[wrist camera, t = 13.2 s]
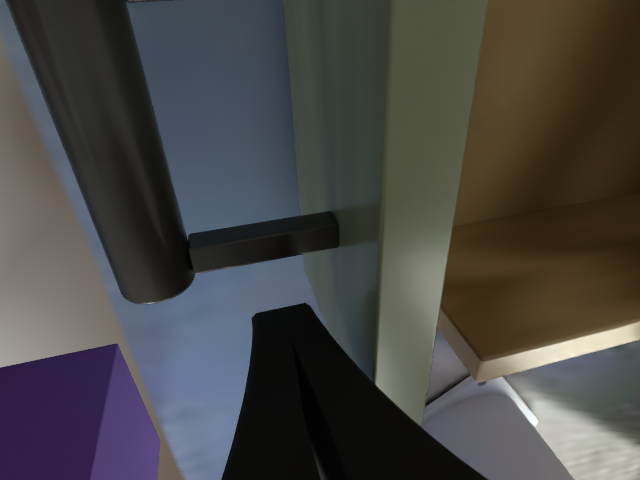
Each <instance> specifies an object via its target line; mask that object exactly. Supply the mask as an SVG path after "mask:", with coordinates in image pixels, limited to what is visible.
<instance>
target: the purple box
mask: <svg viewBox="0 0 640 480" xmlns="http://www.w3.org/2000/svg"><path fill="white" fill-rule="evenodd" d="M159 449H160V439H159V437H158V435H157V433H156V430H155V428H154V426H153V423H152V421H151V419H150V417H149V415H148V412H147V410H146V408H145V405H144V403H143V401H142V398H141V396H140V394H139V392H138V389H137V387H136V385H135V383H134V380H133V378H132V376H131V373H130V371H129V369H128V367H127V364H126V362H125V360H124V358H123V356H122V353H121V351H120V349H119V346H118V344H112V345H108V346H102V347H98V348H93V349H88V350H83V351H78V352H74V353H69V354H65V355H59V356H54V357H49V358H45V359H40V360H35V361H30V362H25V363H21V364H16V365H11V366H7V367H2V368H0V480H157V477H158V462H159Z"/></svg>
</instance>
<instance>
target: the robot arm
mask: <svg viewBox="0 0 640 480" xmlns="http://www.w3.org/2000/svg"><path fill="white" fill-rule="evenodd" d="M252 325H253V336H252V350H251V358H250V366H249V371H248V377H247V383H246V388H245V394H244V398H243V403H242V407H241V411H240V415H239V419H238V423H237V427H236V431H235V435H234V439H233V443H232V446H231V450H230V453H229V457H228V460H227V463H226V467H225V470H224V473H223V476H222V479H221V480H574V478H573V477H572V476H571V475H570V473H569V472H568V471H567V469H566V468H565V467H564V465H563V464H562V463H561V462H560V460H559V459H558V458H557V456H556V455H555V454H554V452H553V451H552V450H551V449H550V447H549V446H548V445H547V443H546V442H545V441H544V439H543V438H542V437H541V435H540V434H539V433H538V432H537V430H536V429H535V428H534V426H536V425H537V424H538V422H539V419H538V417H537V416H536V415H535V414H534V413H533V411H532V410H531V409H530V408H529V407H528V405H527V404H526V403H525V402H524V401H523V399H522V398H521V397H520V396H519V395H518V394H517V392H516V391H515V390H514V389H513V388H512V386H511V385H510V384H509V383H508V382H507V380H506V379H505V378H504V377H499V378H495V379H491V380H488V381H484V382H480V383H477V382H476V381H475V380H474V379H473V377H472V376H469V377H468V378H466V379H465V380H463V381H462V382H461V383H459V384H458V385H456V386H455V387H453V388H452V389H450V390H449V391H448V392H446V393H445V394H443V395H442V396H440V397H439V398H437V399H436V400H435V401H433V402H432V403H430V404H429V405H427V406H426V407H425V408H424V414H423V421H422V426H419V425H418V424H417V423H416V422H415V421H414V420H412V419H411V418H410V417H409V416H408V415H407V414H406V413H405V412H403V411H402V410H401V409H400V408H399V407H398V406H397V405H396V404H395V403H394V402H393V401H392V400H391V399H390V398H389V397H388V396H387V395H386V394H385V393H383V392H382V391H381V390H380V389H379V388H378V387H377V386H376V385H375V384H374V383H373V382H372V381H371V380H370V378H369V377H368V376H367V375H366V374H365V373H364V372H363V371H362V370H361V369H360V368H359V367H358V366H357V365H356V363H355V362H354V361H353V360H352V359H351V358H350V357H349V356H348V355H347V353H346V352H345V351H344V350H343V349H342V348H341V347H340V345H339V344H338V343H337V342H336V340H335V339H334V338H333V337H332V336H331V334H330V333H329V332H328V331H327V329H326V328H325V327H324V325H323V324H322V323H321V321H320V320H319V318H318V317H317V316H316V314H315V313H314V311H313V310H312V308H311V306H310V305H308V304H306V303H302V304H298V305H293V306H288V307H283V308H279V309H274V310H269V311H264V312H260V313H256V314H255V315H254V316H253V317H252Z"/></svg>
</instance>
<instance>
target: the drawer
mask: <svg viewBox="0 0 640 480" xmlns="http://www.w3.org/2000/svg"><path fill="white" fill-rule="evenodd" d="M154 1H172V0H6V3H7V5H8V8H9V10H10V13H11V15H12V18H13V21H14V23H15V26H16V28H17V31H18V33H19V36H20V38H21V41H22V43H23V46H24V48H25V51H26V53H27V56H28V58H29V61H30V64H31V66H32V69H33V71H34V74H35V76H36V79H37V81H38V84H39V86H40V89H41V91H42V94H43V96H44V99H45V102H46V104H47V107H48V109H49V112H50V114H51V117H52V119H53V122H54V124H55V127H56V129H57V132H58V134H59V137H60V140H61V142H62V145H63V147H64V150H65V152H66V155H67V157H68V160H69V162H70V165H71V167H72V170H73V172H74V175H75V177H76V180H77V183H78V185H79V188H80V190H81V193H82V195H83V198H84V200H85V203H86V205H87V208H88V210H89V213H90V215H91V218H92V221H93V223H94V226H95V228H96V231H97V233H98V236H99V238H100V241H101V243H102V246H103V248H104V251H105V253H106V256H107V259H108V261H109V264H110V266H111V269H112V271H113V274H114V276H115V279H116V281H117V284H118V286H119V289H120V291H121V294H122V295H123V297H124V298H126V299H127V300H129V301H130V302H133V303H137V304H154V303H159V302H163V301H166V300H169V299H172V298H174V297H176V296H178V295H179V294H181V293H182V292H184V291H185V290H186V289H187V288H188V287H189V286H190V285H191V284H192V282H193V280H194V277H195V274H199V273H204V272H210V271H215V270H221V269H226V268H231V267H237V266H242V265H248V264H253V263H259V262H264V261H270V260H275V259H280V258H286V257H291V256H297V255H302V254H303V258H304V271H305V273H306V276H307V278H308V281H309V283H310V286H311V289H312V291H313V294H314V296H315V299H316V301H317V304H318V307H319V309H320V312H321V314H322V317H323V319H324V322H325V325H326V327H327V330H328V332H329V333H330V334H331V336H332V337H333V338H334V339H335V340H336V342H337V343H338V344H339V345H340V347H341V348H342V349H343V350H344V351H345V352H346V353H347V355H348V356H349V357H350V358H351V359H352V360H353V361H354V362H355V363H356V365H357V366H358V367H359V368H360V369H361V370H362V371H363V372H364V373H365V374H366V375H367V376H368V377H369V378H370V380H371V381H372V382H373V383H374V384H375V385H376V386H377V387H378V388H379V389H380V390H381V391H382V392H383V393H385V394H386V395H387V396H388V397H389V398H390V399H391V400H392V401H393V402H394V403H395V404H396V405H397V406H398V407H399V408H400V409H401V410H402V411H403V412H405V413H406V414H407V415H408V416H409V417H410V418H411V419H412V420H414V421H415V422H416V423H417V424H418V425H419V426H422V421H423V414H424V408H425V402H426V395H427V389H428V382H429V376H430V370H431V363H432V357H433V350H434V344H435V338H436V331H437V328H438V329H439V331H440V332H441V333H442V335H443V336H444V338H445V339H446V341H447V342H448V343H449V345H450V346H451V348H452V349H453V350H454V352H455V353H456V355H457V356H458V357H459V359H460V360H461V362H462V363H463V365H464V366H465V367H466V369H467V370H468V372H469V373H470V374H471V376H472V377H473V379H474V380H475V381H476V382H477V383H480V382H484V381H488V380H491V379H495V378H499V377H503V376H506V375H510V374H514V373H517V372H521V371H525V370H529V369H532V368H536V367H540V366H544V365H547V364H551V363H555V362H558V361H562V360H566V359H570V358H573V357H577V356H581V355H584V354H588V353H592V352H596V351H599V350H603V349H607V348H611V347H614V346H618V345H622V344H625V343H629V342H633V341H637V340H640V0H284V12H285V25H286V38H287V51H288V64H289V77H290V90H291V103H292V116H293V129H294V142H295V154H296V167H297V180H298V193H299V206H300V216H295V217H289V218H283V219H277V220H271V221H265V222H259V223H253V224H247V225H241V226H235V227H229V228H222V229H216V230H210V231H204V232H198V233H192V234H189V235H188V240H187V236H186V233H185V229H184V225H183V221H182V217H181V213H180V209H179V205H178V202H177V198H176V194H175V190H174V186H173V182H172V178H171V174H170V171H169V167H168V163H167V159H166V155H165V151H164V147H163V143H162V139H161V136H160V132H159V128H158V124H157V120H156V116H155V112H154V108H153V105H152V101H151V97H150V93H149V89H148V85H147V81H146V77H145V74H144V70H143V66H142V62H141V58H140V54H139V50H138V46H137V43H136V39H135V35H134V31H133V27H132V23H131V19H130V15H129V11H128V8H127V4H126V2H128V3H137V2H154Z"/></svg>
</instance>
